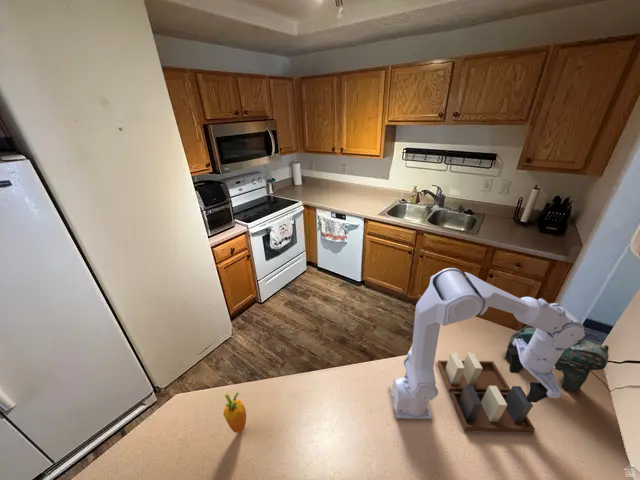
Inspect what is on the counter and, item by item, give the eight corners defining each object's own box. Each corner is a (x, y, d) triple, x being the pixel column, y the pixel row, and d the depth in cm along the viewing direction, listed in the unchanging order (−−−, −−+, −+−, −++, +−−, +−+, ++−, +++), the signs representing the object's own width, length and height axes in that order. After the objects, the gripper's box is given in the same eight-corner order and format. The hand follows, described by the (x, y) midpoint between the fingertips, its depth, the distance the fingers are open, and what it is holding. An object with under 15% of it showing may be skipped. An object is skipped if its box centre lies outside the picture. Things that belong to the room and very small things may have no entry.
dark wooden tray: (463, 431, 67) (465, 427, 66) (449, 395, 75) (451, 391, 74) (532, 432, 66) (534, 429, 65) (510, 396, 74) (512, 392, 73)
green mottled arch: (582, 385, 77) (619, 339, 67) (583, 403, 72) (621, 356, 63) (504, 348, 88) (526, 305, 78) (500, 361, 84) (522, 317, 74)
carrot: (230, 425, 69) (218, 392, 62) (249, 417, 71) (239, 385, 64) (231, 445, 65) (219, 413, 58) (251, 437, 67) (242, 404, 60)
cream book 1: (451, 384, 77) (457, 367, 73) (444, 369, 82) (450, 352, 78) (458, 384, 77) (464, 368, 73) (451, 369, 82) (457, 352, 78)
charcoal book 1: (466, 421, 69) (474, 404, 65) (457, 402, 73) (465, 385, 69) (473, 421, 68) (482, 404, 65) (465, 402, 73) (472, 385, 69)
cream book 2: (468, 385, 77) (475, 368, 73) (460, 369, 81) (467, 352, 78) (475, 385, 77) (482, 368, 73) (467, 369, 81) (474, 353, 78)
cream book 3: (490, 422, 68) (499, 405, 64) (480, 402, 73) (488, 385, 69) (497, 422, 68) (507, 405, 64) (487, 402, 73) (496, 385, 69)
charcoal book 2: (514, 422, 68) (525, 405, 64) (502, 403, 72) (512, 386, 69) (521, 422, 68) (533, 405, 64) (510, 403, 72) (520, 386, 68)
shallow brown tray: (448, 392, 76) (449, 388, 75) (437, 364, 84) (438, 360, 83) (508, 393, 75) (510, 389, 74) (491, 365, 83) (493, 361, 82)
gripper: (586, 381, 54) (559, 417, 60) (540, 327, 66) (521, 361, 73) (550, 379, 54) (527, 414, 61) (511, 326, 67) (495, 360, 74)
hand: (522, 385), depth 67 cm, fingers open, 7 cm apart
